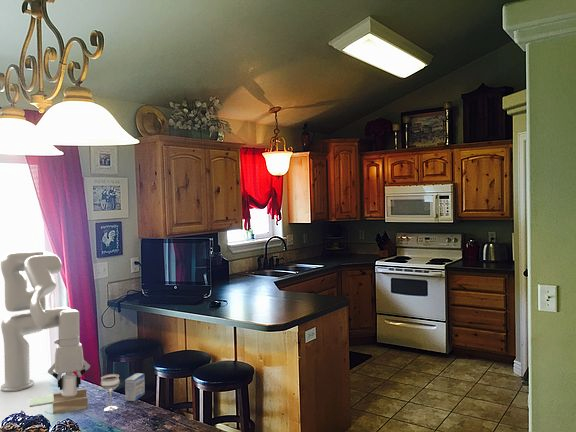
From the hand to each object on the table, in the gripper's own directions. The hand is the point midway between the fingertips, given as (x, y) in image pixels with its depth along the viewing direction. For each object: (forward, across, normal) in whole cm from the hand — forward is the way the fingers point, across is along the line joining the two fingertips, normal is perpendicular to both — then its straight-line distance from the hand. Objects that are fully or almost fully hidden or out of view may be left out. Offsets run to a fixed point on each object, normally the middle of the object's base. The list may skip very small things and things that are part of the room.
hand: (69, 387), depth 186 cm
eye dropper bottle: (+3, 0, 0) cm, 3 cm away
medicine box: (+7, +24, -4) cm, 26 cm away
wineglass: (+7, +14, -11) cm, 19 cm away
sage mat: (+7, -10, +10) cm, 16 cm away
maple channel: (+7, 0, -1) cm, 7 cm away
